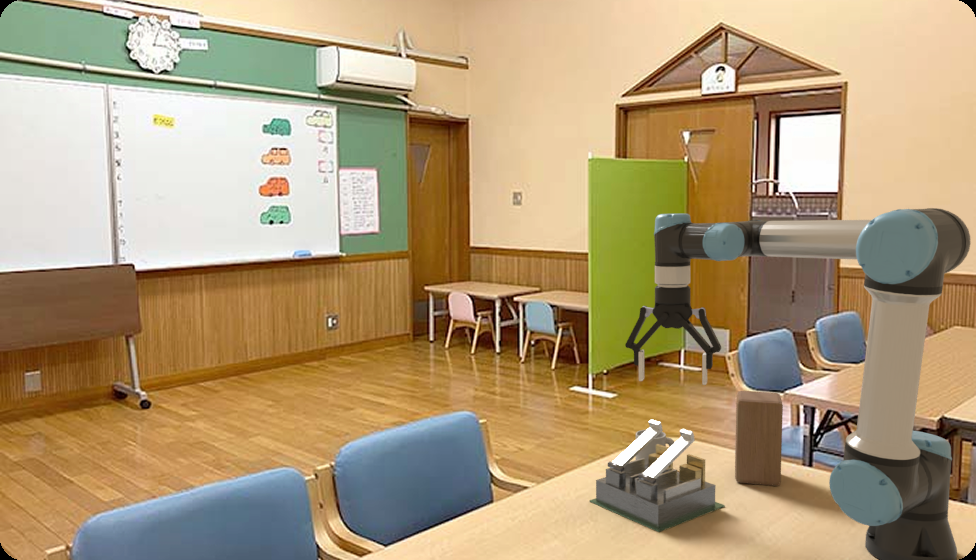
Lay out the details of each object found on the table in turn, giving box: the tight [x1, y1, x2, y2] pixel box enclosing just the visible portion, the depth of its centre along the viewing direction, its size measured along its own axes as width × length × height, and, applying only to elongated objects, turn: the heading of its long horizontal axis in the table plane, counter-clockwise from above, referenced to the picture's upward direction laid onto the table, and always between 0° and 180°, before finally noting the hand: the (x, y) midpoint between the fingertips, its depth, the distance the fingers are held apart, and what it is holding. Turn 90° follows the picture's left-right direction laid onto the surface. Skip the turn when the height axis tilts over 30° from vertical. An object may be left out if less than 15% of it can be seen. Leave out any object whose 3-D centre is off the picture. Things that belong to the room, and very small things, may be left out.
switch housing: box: [589, 444, 726, 533], centre depth 172 cm, size 20×21×10 cm
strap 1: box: [638, 428, 695, 484], centre depth 167 cm, size 4×15×2 cm, turn 126°
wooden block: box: [734, 390, 784, 487], centre depth 187 cm, size 10×10×20 cm
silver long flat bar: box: [607, 419, 664, 472], centre depth 174 cm, size 4×15×2 cm, turn 126°
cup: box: [635, 429, 676, 465], centre depth 194 cm, size 7×10×9 cm
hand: (672, 381), depth 173 cm, fingers open, 13 cm apart
